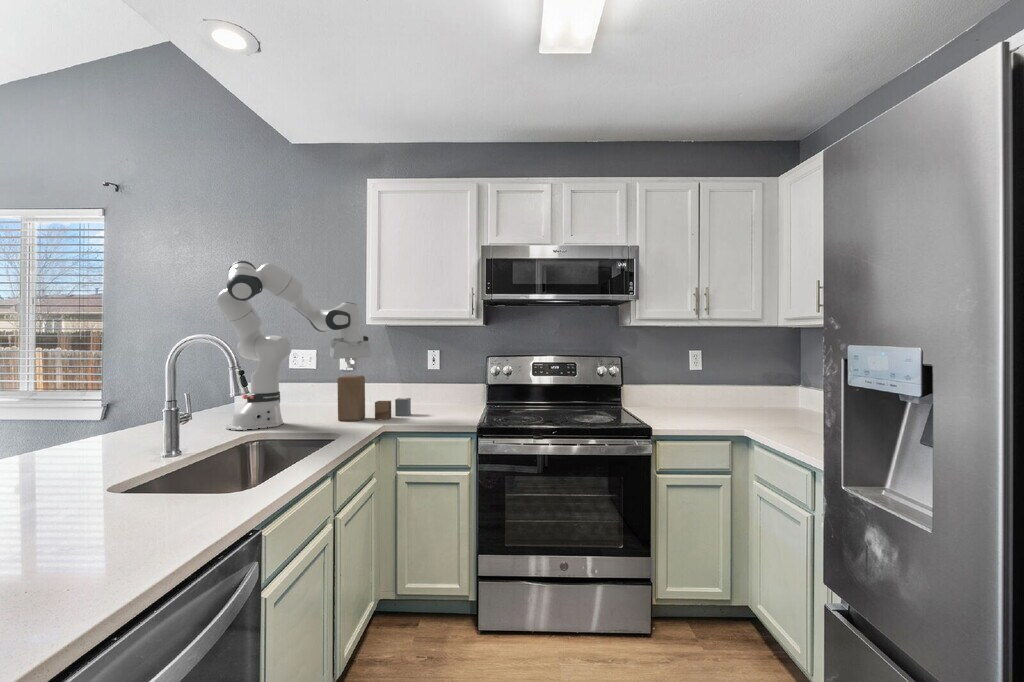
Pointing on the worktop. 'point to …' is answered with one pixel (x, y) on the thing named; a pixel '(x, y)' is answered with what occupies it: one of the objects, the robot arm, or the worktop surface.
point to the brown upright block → (383, 410)
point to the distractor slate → (402, 406)
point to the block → (351, 397)
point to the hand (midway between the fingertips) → (351, 367)
